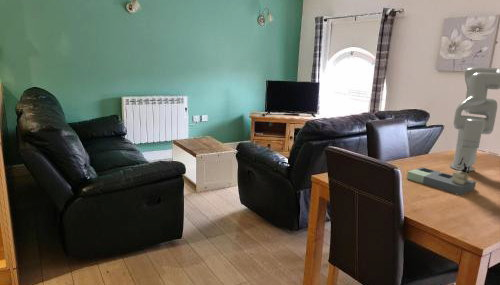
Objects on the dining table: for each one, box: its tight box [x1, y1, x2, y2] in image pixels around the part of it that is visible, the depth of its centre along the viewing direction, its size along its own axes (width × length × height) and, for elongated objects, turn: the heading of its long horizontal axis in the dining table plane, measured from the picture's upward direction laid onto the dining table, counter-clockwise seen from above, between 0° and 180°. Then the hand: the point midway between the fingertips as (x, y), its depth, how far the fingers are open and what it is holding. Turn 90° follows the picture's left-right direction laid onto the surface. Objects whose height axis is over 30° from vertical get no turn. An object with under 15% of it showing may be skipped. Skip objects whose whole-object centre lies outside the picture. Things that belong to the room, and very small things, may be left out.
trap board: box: [406, 166, 477, 196], centre depth 189 cm, size 15×28×4 cm, turn 37°
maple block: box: [452, 170, 470, 185], centre depth 180 cm, size 5×5×5 cm
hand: (463, 178), depth 183 cm, fingers closed
